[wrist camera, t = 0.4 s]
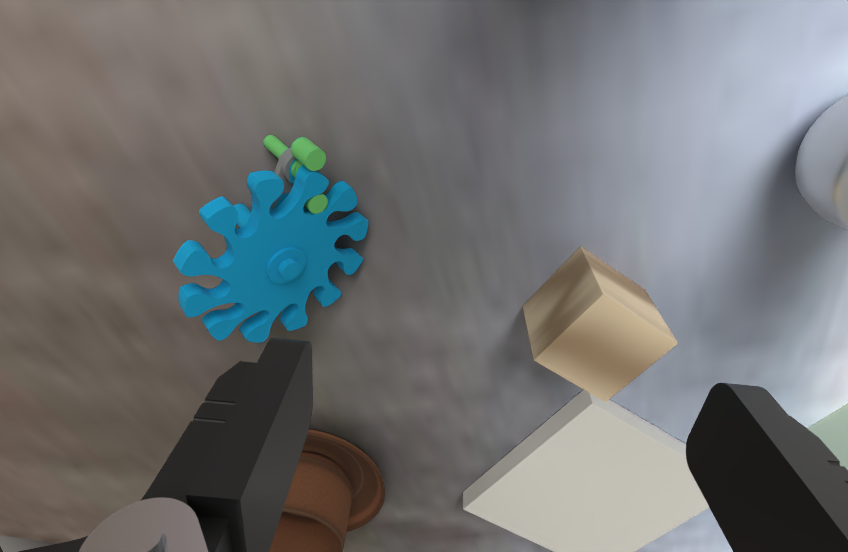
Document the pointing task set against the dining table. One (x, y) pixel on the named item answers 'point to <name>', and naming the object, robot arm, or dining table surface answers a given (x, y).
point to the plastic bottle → (826, 165)
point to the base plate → (590, 482)
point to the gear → (273, 246)
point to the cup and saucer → (328, 496)
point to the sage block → (834, 433)
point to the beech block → (595, 326)
